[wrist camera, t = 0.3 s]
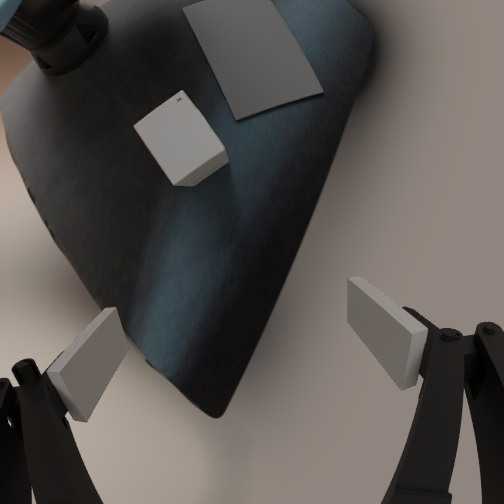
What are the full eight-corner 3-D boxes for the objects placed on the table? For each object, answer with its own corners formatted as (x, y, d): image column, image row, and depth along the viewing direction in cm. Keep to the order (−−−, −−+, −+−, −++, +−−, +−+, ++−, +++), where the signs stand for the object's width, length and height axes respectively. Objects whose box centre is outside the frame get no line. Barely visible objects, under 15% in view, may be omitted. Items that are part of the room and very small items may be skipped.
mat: (182, 10, 31) (181, 8, 31) (259, -12, 31) (260, -14, 30) (235, 121, 37) (236, 120, 36) (322, 92, 36) (323, 91, 36)
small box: (162, 144, 37) (131, 125, 24) (198, 118, 36) (182, 87, 24) (193, 188, 38) (173, 187, 26) (230, 162, 38) (227, 148, 25)
